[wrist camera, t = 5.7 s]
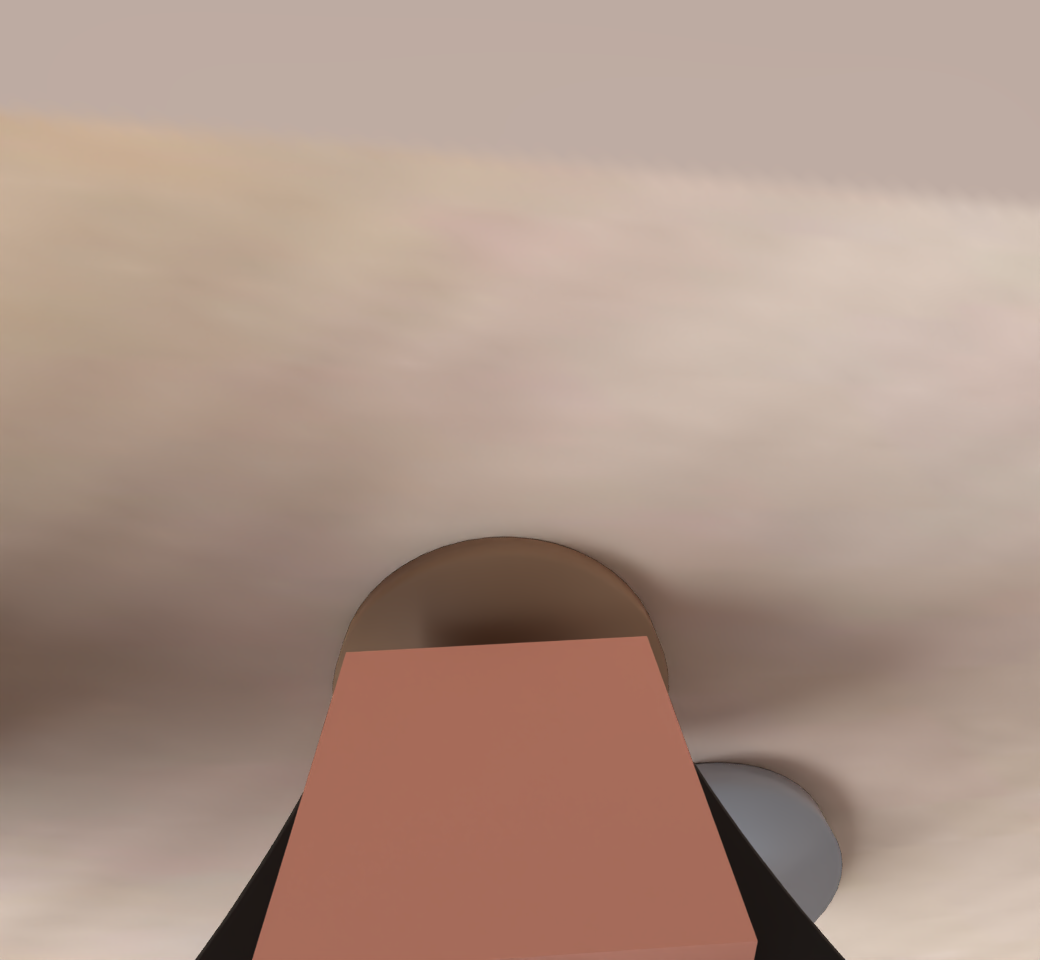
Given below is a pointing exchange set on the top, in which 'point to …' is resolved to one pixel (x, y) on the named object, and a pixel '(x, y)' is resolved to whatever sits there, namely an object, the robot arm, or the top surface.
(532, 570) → the hub
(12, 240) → the top surface
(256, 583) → the top surface
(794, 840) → the stand
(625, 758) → the salmon square tube
